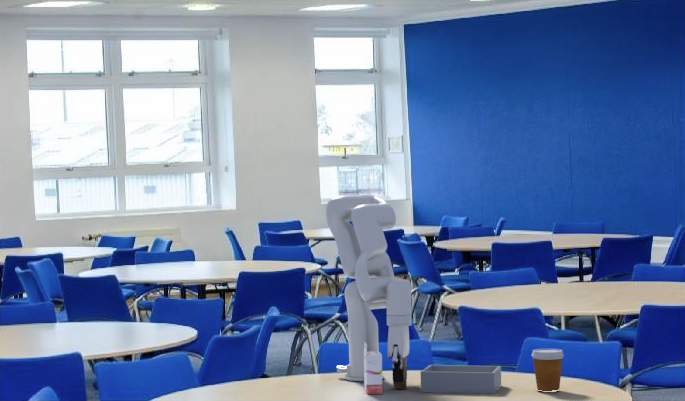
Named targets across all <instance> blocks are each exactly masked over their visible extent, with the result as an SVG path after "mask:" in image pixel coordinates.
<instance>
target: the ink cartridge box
mask: <svg viewBox="0 0 685 401" xmlns="http://www.w3.org/2000/svg"><path fill="white" fill-rule="evenodd" d="M365 347H366V349H365ZM382 374H383V354H382V352H380V351H373V352H367V344H366V343H364V381H363V384H364V385H363V386H364V387H363V388H364V391H365V393H366V394H367V395H381V394H382V395H383V391H384V390H383V388H384V387H383V379H382Z"/></svg>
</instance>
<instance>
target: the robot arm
mask: <svg viewBox="0 0 685 401" xmlns="http://www.w3.org/2000/svg"><path fill="white" fill-rule="evenodd" d="M326 204H327V205H326V207H325V217H326V222H327V225H328V228H329V230H330V232H331V234H332V236H333V239H334V240H335V244H336V249H337V252H338V257H339V261H340V264H341V269H342V271H343V273H344V276H346V277H347V278H348V279H352V280H353V279H354V281H350V282H349V283H348V284H347V285H346V286H345V289H344V300H345V305H346V311H347V322H348V323H347V324H348V326H347V327H348V328H347V329H348V359H349V360H348V361H349V363H348V364H347V365H337V366H336V372H338V373H346V374H345V375H344V380H346V381H350V382H351V381H352V382H364V343H366V344H367V352H373V351H379V347H380V346H379V324H378V323H379V322H378V320H377V319H376V316H375V315H374V313H373V312H372V310H379V309H386V326H388V334H387V358H388V359H392V383H393V382H403V381H404V379H403V369H402V360H403V358H404V357H406V358H407V356H408V355H409V353H410V330H409V329H410V328H409V327H410V326H412V321H413V320H412V319H413V318H412V284H411V280H408V279H405V278H404V279H403V278H400V277H398V276H395V272H394V271H393V270H394V269H393V267H392V262H391V258H390V256H389V254H388V253H387V252H386V250H387V249H388V243H387V239H386V237H385V233H384V230H385V231H386V230H387V231H388V230H391V229H393V228H394V227H395V226H396V223H397V215H396V212H395V210H394V208H393V207H392V206H391V204H390V203H389V202H387V201H385V200H384V199H382V198H381V197H379V196H377V195H374V194H348V195H347V194H346V195H345V194H344V195H343V194H342V195H337V196H334V197H332V198H331V199H329V200H328V202H327V203H326ZM350 222H351V223H352V224H351V223H350ZM365 349H366V347H365ZM379 352H380V351H379ZM400 354H401V356H400ZM398 356H400V357H401V358H398ZM398 360H400V362H399V361H398ZM407 362H408V361H407V360H406V380H407V379H408V370H407V368H408V366H407ZM384 378H385V374H384V373H382V380H384Z"/></svg>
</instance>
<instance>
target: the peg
mask: <svg viewBox="0 0 685 401" xmlns="http://www.w3.org/2000/svg"><path fill="white" fill-rule="evenodd" d="M400 356H401V354H400ZM400 356H398V358H401V357H400ZM398 361H399V362H400V360H398ZM406 361H407V356H406V357H404V358H403V360H402V369H403V379H404V381H403V382H393V381H392V384H393V386H392V387H393V389H394V390H395V389H396V390H397V389H398V390H403V389H407V386H408V385H407V384H408V383H407V379H406V366H407V365H406Z"/></svg>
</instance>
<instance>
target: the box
mask: <svg viewBox="0 0 685 401" xmlns="http://www.w3.org/2000/svg"><path fill="white" fill-rule="evenodd" d="M500 385H501V386H502V366H501V365H465V364H464V365H461V364H458V365H456V364H455V365H454V364H450V365H449V364H447V365H446V364H428V366H426V367H425V368H424V369H422V370H420V393H452V392H453V393H455V394H457V393H458V394H461V393H464V394H496V392H497V391H498V390H499V389H500V388H501V387H500ZM499 387H500V388H499ZM498 388H499V389H498ZM497 389H498V390H497ZM496 390H497V391H496Z"/></svg>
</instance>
